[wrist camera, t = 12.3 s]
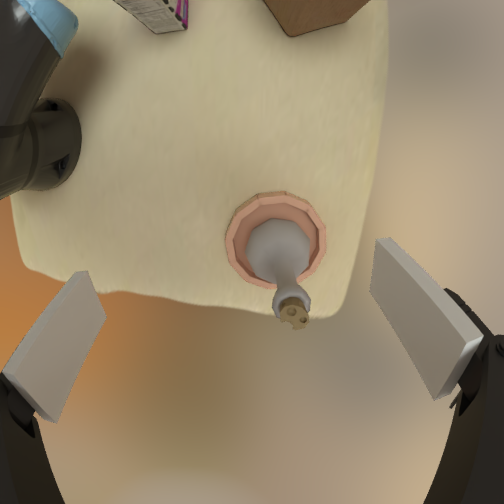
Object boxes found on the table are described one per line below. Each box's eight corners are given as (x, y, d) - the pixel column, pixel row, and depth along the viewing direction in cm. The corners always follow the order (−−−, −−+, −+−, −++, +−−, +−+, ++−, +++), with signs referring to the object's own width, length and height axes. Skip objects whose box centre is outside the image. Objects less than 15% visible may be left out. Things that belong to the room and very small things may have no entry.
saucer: (235, 284, 44) (235, 293, 42) (220, 198, 38) (218, 203, 36) (322, 273, 44) (326, 281, 42) (319, 187, 38) (324, 191, 36)
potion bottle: (287, 275, 43) (308, 363, 27) (235, 251, 41) (228, 336, 25) (317, 228, 40) (361, 300, 23) (263, 200, 38) (277, 260, 21)
